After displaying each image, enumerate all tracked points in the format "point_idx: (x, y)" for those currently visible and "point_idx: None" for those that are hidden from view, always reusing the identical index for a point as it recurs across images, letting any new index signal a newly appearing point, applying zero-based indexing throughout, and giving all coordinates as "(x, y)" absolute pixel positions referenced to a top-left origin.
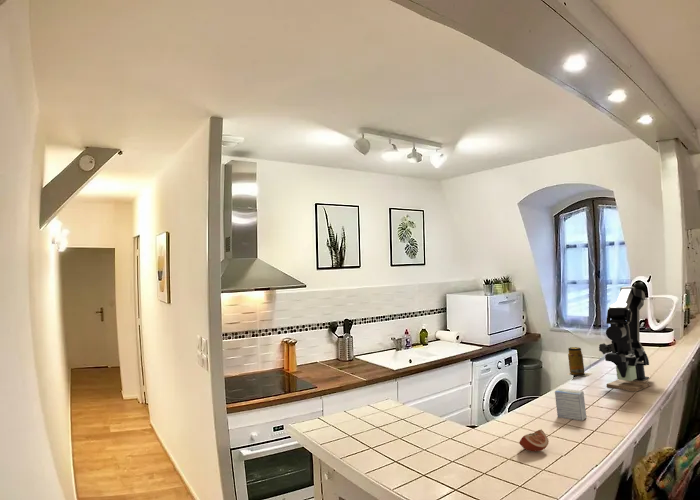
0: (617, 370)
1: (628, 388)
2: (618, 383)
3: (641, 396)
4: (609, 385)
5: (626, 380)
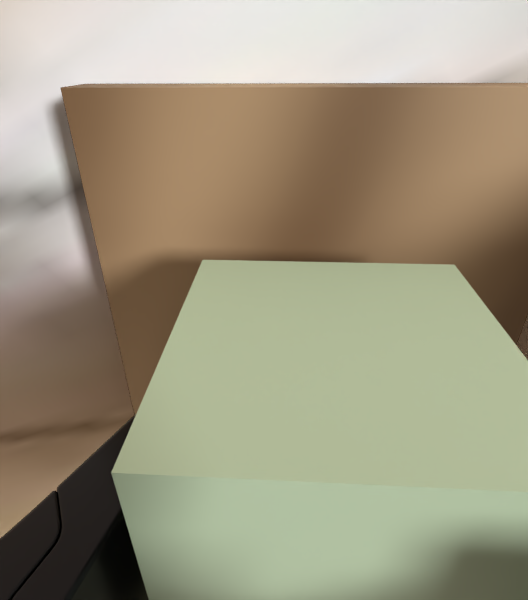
0: (161, 396)
1: (133, 378)
2: (236, 226)
3: (40, 485)
4: (80, 144)
5: (520, 230)
